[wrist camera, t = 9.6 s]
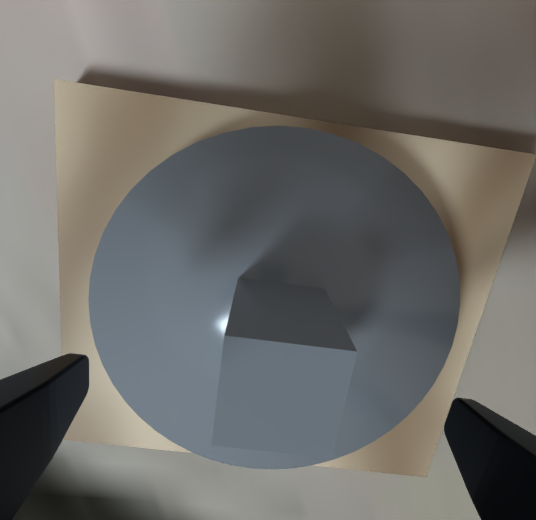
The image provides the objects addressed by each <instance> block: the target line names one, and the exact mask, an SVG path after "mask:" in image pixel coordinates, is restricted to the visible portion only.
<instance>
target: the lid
mask: <svg viewBox="0 0 536 520" xmlns="http://www.w3.org/2000/svg"><path fill="white" fill-rule="evenodd" d="M88 302H89V315H90V325H91V329H92V334H93V338H94V343H95V346H96V349H97V351H98V354H99V357H100V360H101V362H102V365H103V367H104V369H105V371H106V372H107V374H108V376H109V378H110V380H111V382H112V384H113V385H114V387H115V388H116V389H117V391H118V392H119V394H120V395H121V396H122V398H123V399H124V401H125V402H126V403H127V404H128V405H129V406H130V407H131V408H132V410H133V411H134V412H135V413H136V414H137V415H138V416H139V417H140V418H141V419H142V420H143V421H145V422H146V423H147V424H148V425H149V426H150V427H152V428H153V429H154V430H155V431H157V432H158V433H160V434H161V435H163V436H164V437H165V438H167V439H168V440H170V441H171V442H173V443H175V444H177V445H179V446H181V447H183V448H185V449H186V450H188V451H190V452H193V453H195V454H198V455H200V456H203V457H206V458H208V459H211V460H214V461H218V462H222V463H226V464H229V465H234V466H241V467H247V468H257V469H287V468H298V467H304V466H310V465H316V464H319V463H323V462H327V461H330V460H334V459H337V458H340V457H342V456H345V455H347V454H350V453H352V452H355V451H357V450H359V449H361V448H363V447H365V446H366V445H368V444H370V443H372V442H374V441H375V440H377V439H378V438H380V437H381V436H383V435H384V434H386V433H387V432H389V431H390V430H392V429H393V428H394V427H395V426H396V425H398V424H399V423H400V422H401V421H402V420H404V419H405V418H406V417H407V416H408V415H409V414H410V413H411V412H412V411H413V410H414V409H415V408H416V406H417V405H418V404H419V403H420V402H421V401H422V400H423V398H424V397H425V396H426V394H427V393H428V392H429V390H430V389H431V387H432V386H433V385H434V383H435V381H436V380H437V378H438V376H439V374H440V372H441V371H442V369H443V367H444V365H445V363H446V360H447V358H448V355H449V353H450V350H451V348H452V345H453V341H454V337H455V333H456V329H457V325H458V318H459V309H460V279H459V273H458V268H457V262H456V256H455V253H454V250H453V247H452V244H451V241H450V238H449V235H448V233H447V231H446V229H445V227H444V225H443V223H442V221H441V219H440V217H439V215H438V213H437V212H436V210H435V209H434V207H433V206H432V205H431V203H430V202H429V200H428V199H427V198H426V196H425V195H424V193H423V192H422V191H421V190H420V189H419V188H418V187H417V186H416V185H415V184H414V183H413V182H412V181H411V180H410V178H409V177H408V176H407V175H406V174H405V173H403V172H402V171H401V170H400V169H398V168H397V167H396V166H394V165H393V164H392V163H390V162H389V161H388V160H387V159H385V158H384V157H382V156H381V155H379V154H377V153H375V152H373V151H372V150H370V149H368V148H366V147H364V146H363V145H361V144H359V143H356V142H353V141H351V140H348V139H346V138H343V137H340V136H338V135H335V134H331V133H327V132H323V131H318V130H314V129H309V128H301V127H289V126H264V127H250V128H245V129H240V130H235V131H230V132H225V133H221V134H218V135H216V136H213V137H210V138H207V139H204V140H201V141H199V142H196V143H194V144H192V145H190V146H188V147H186V148H185V149H183V150H181V151H179V152H177V153H175V154H173V155H171V156H170V157H169V158H167V159H166V160H164V161H163V162H162V163H160V164H159V165H158V166H156V167H155V168H153V169H152V170H151V171H150V172H148V173H147V174H146V175H145V176H144V177H143V178H142V179H141V180H140V181H139V182H138V183H137V184H136V185H135V186H134V187H133V188H132V189H131V190H130V191H129V193H128V194H127V195H126V197H125V198H124V199H123V201H122V202H121V203H120V204H119V206H118V207H117V208H116V210H115V212H114V213H113V215H112V217H111V219H110V221H109V222H108V224H107V226H106V228H105V230H104V231H103V234H102V237H101V239H100V242H99V245H98V247H97V250H96V253H95V256H94V261H93V265H92V270H91V274H90V284H89V298H88Z"/></svg>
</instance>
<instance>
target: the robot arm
mask: <svg viewBox="0 0 536 520" xmlns="http://www.w3.org/2000/svg"><path fill="white" fill-rule="evenodd" d="M88 389H89V358H88V357H87V356H86V355H83V354H74V353H68V354H65V355H63V356H60V357H58V358H55V359H53V360H50V361H47V362H45V363H42V364H40V365H37V366H35V367H32V368H29V369H27V370H24V371H22V372H19V373H17V374H14V375H11V376H9V377H6V378H4V379H1V380H0V520H12V518H13V517H14V515H15V514H16V512H17V511H18V509H19V508H20V506H21V505H22V503H23V502H24V500H25V499H26V497H27V496H28V494H29V493H30V491H31V490H32V488H33V487H34V485H35V484H36V482H37V481H38V479H39V478H40V476H41V475H42V473H43V472H44V470H45V469H46V467H47V466H48V464H49V463H50V461H51V459H52V458H53V456H54V454H55V453H56V451H57V449H58V447H59V445H60V444H61V442H62V440H63V438H64V436H65V434H66V432H67V431H68V429H69V427H70V425H71V423H72V421H73V419H74V418H75V416H76V414H77V412H78V410H79V408H80V406H81V405H82V403H83V401H84V399H85V397H86V395H87V393H88ZM444 431H445V435H446V438H447V441H448V443H449V446H450V448H451V451H452V453H453V455H454V458H455V460H456V463H457V465H458V468H459V470H460V473H461V475H462V478H463V480H464V483H465V485H466V488H467V490H468V492H469V495H470V497H471V499H472V502H473V504H474V506H475V508H476V510H477V512H478V514H479V516H480V518H481V520H536V436H535V435H533V434H532V433H530V432H528V431H526V430H525V429H523V428H521V427H519V426H518V425H516V424H514V423H513V422H511V421H509V420H507V419H506V418H504V417H502V416H500V415H499V414H497V413H495V412H494V411H492V410H490V409H488V408H487V407H485V406H483V405H481V404H480V403H478V402H476V401H474V400H472V399H464V398H456V399H454V400H453V401H452V404H451V407H450V410H449V413H448V415H447V418H446V421H445V425H444Z"/></svg>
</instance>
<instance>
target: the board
mask: <svg viewBox="0 0 536 520" xmlns="http://www.w3.org/2000/svg"><path fill="white" fill-rule="evenodd" d="M54 99H55V134H56V169H57V204H58V240H59V275H60V310H61V345H62V356H63V355H65V354H68V353H74V354H83V355H86V356H87V357H88V358H89V389H88V393H87V395H86V397H85V399H84V401H83V403H82V405H81V406H80V408H79V410H78V412H77V414H76V416H75V418H74V419H73V421H72V423H71V425H70V427H69V429H68V431H67V432H66V434H65V436H64V440H72V441H82V442H91V443H101V444H111V445H120V446H130V447H139V448H149V449H159V450H168V451H178V452H188V453H193V452H190V451H188V450H186V449H185V448H183V447H181V446H179V445H177V444H175V443H173V442H171V441H170V440H168V439H167V438H165V437H164V436H163V435H161V434H160V433H158V432H157V431H155V430H154V429H153V428H152V427H150V426H149V425H148V424H147V423H146V422H145V421H143V420H142V419H141V418H140V417H139V416H138V415H137V414H136V413H135V412H134V411H133V410H132V408H131V407H130V406H129V405H128V404H127V403H126V402H125V401H124V399H123V398H122V396H121V395H120V394H119V392H118V391H117V389H116V388H115V387H114V385H113V384H112V382H111V380H110V378H109V376H108V374H107V372H106V371H105V369H104V367H103V365H102V362H101V360H100V357H99V354H98V351H97V349H96V346H95V343H94V338H93V334H92V329H91V325H90V315H89V302H88V298H89V284H90V274H91V270H92V265H93V261H94V256H95V253H96V250H97V247H98V245H99V242H100V239H101V237H102V234H103V231H104V230H105V228H106V226H107V224H108V222H109V221H110V219H111V217H112V215H113V213H114V212H115V210H116V208H117V207H118V206H119V204H120V203H121V202H122V201H123V199H124V198H125V197H126V195H127V194H128V193H129V191H130V190H131V189H132V188H133V187H134V186H135V185H136V184H137V183H138V182H139V181H140V180H141V179H142V178H143V177H144V176H145V175H146V174H147V173H148V172H150V171H151V170H152V169H153V168H155V167H156V166H158V165H159V164H160V163H162V162H163V161H164V160H166V159H167V158H169V157H170V156H171V155H173V154H175V153H177V152H179V151H181V150H183V149H185V148H186V147H188V146H190V145H192V144H194V143H196V142H199V141H201V140H204V139H207V138H210V137H213V136H216V135H218V134H221V133H225V132H230V131H235V130H240V129H245V128H250V127H264V126H289V127H301V128H309V129H314V130H318V131H323V132H327V133H331V134H335V135H338V136H340V137H343V138H346V139H348V140H351V141H353V142H356V143H359V144H361V145H363V146H364V147H366V148H368V149H370V150H372V151H373V152H375V153H377V154H379V155H381V156H382V157H384V158H385V159H387V160H388V161H389V162H390V163H392V164H393V165H394V166H396V167H397V168H398V169H400V170H401V171H402V172H403V173H405V174H406V175H407V176H408V177H409V178H410V180H411V181H412V182H413V183H414V184H415V185H416V186H417V187H418V188H419V189H420V190H421V191H422V192H423V193H424V195H425V196H426V198H427V199H428V200H429V202H430V203H431V205H432V206H433V207H434V209H435V210H436V212H437V213H438V215H439V217H440V219H441V221H442V223H443V225H444V227H445V229H446V231H447V233H448V235H449V238H450V241H451V244H452V247H453V250H454V253H455V256H456V262H457V268H458V273H459V279H460V309H459V318H458V325H457V329H456V333H455V337H454V341H453V345H452V348H451V350H450V353H449V355H448V358H447V360H446V363H445V365H444V367H443V369H442V371H441V372H440V374H439V376H438V378H437V380H436V381H435V383H434V385H433V386H432V387H431V389H430V390H429V392H428V393H427V394H426V396H425V397H424V398H423V400H422V401H421V402H420V403H419V404H418V405H417V406H416V408H415V409H414V410H413V411H412V412H411V413H410V414H409V415H408V416H407V417H406V418H405V419H404V420H402V421H401V422H400V423H399V424H398V425H396V426H395V427H394V428H393V429H392V430H390V431H389V432H387V433H386V434H384V435H383V436H381V437H380V438H378V439H377V440H375V441H374V442H372V443H370V444H368V445H366V446H365V447H363V448H361V449H359V450H357V451H355V452H352V453H350V454H347V455H345V456H342V457H340V458H337V459H334V460H330V461H327V462H323V463H319V464H316V465H313V466H323V467H333V468H342V469H352V470H362V471H371V472H381V473H391V474H400V475H410V476H420V477H426V476H427V473H428V470H429V467H430V464H431V462H432V459H433V456H434V453H435V450H436V447H437V444H438V441H439V438H440V435H441V432H442V430H443V427H444V424H445V421H446V418H447V415H448V412H449V409H450V406H451V403H452V400H453V397H454V395H455V392H456V389H457V386H458V383H459V380H460V377H461V374H462V371H463V368H464V365H465V363H466V360H467V357H468V354H469V351H470V348H471V345H472V342H473V339H474V336H475V333H476V330H477V328H478V325H479V322H480V319H481V316H482V313H483V310H484V307H485V304H486V301H487V298H488V296H489V293H490V290H491V287H492V284H493V281H494V278H495V275H496V272H497V269H498V266H499V263H500V261H501V258H502V255H503V252H504V249H505V246H506V243H507V240H508V237H509V234H510V231H511V229H512V226H513V223H514V220H515V217H516V214H517V211H518V208H519V205H520V202H521V199H522V196H523V194H524V191H525V188H526V185H527V182H528V179H529V176H530V173H531V170H532V167H533V164H534V161H535V159H536V154H531V153H525V152H518V151H512V150H505V149H499V148H493V147H486V146H480V145H473V144H467V143H461V142H454V141H448V140H441V139H435V138H429V137H422V136H416V135H409V134H403V133H397V132H390V131H384V130H377V129H371V128H365V127H358V126H352V125H345V124H339V123H333V122H326V121H320V120H313V119H307V118H301V117H294V116H288V115H281V114H275V113H269V112H262V111H256V110H249V109H243V108H237V107H230V106H224V105H217V104H211V103H205V102H198V101H192V100H185V99H179V98H173V97H166V96H160V95H153V94H147V93H141V92H134V91H128V90H121V89H115V88H109V87H102V86H96V85H89V84H83V83H77V82H70V81H64V80H57V79H54Z"/></svg>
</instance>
